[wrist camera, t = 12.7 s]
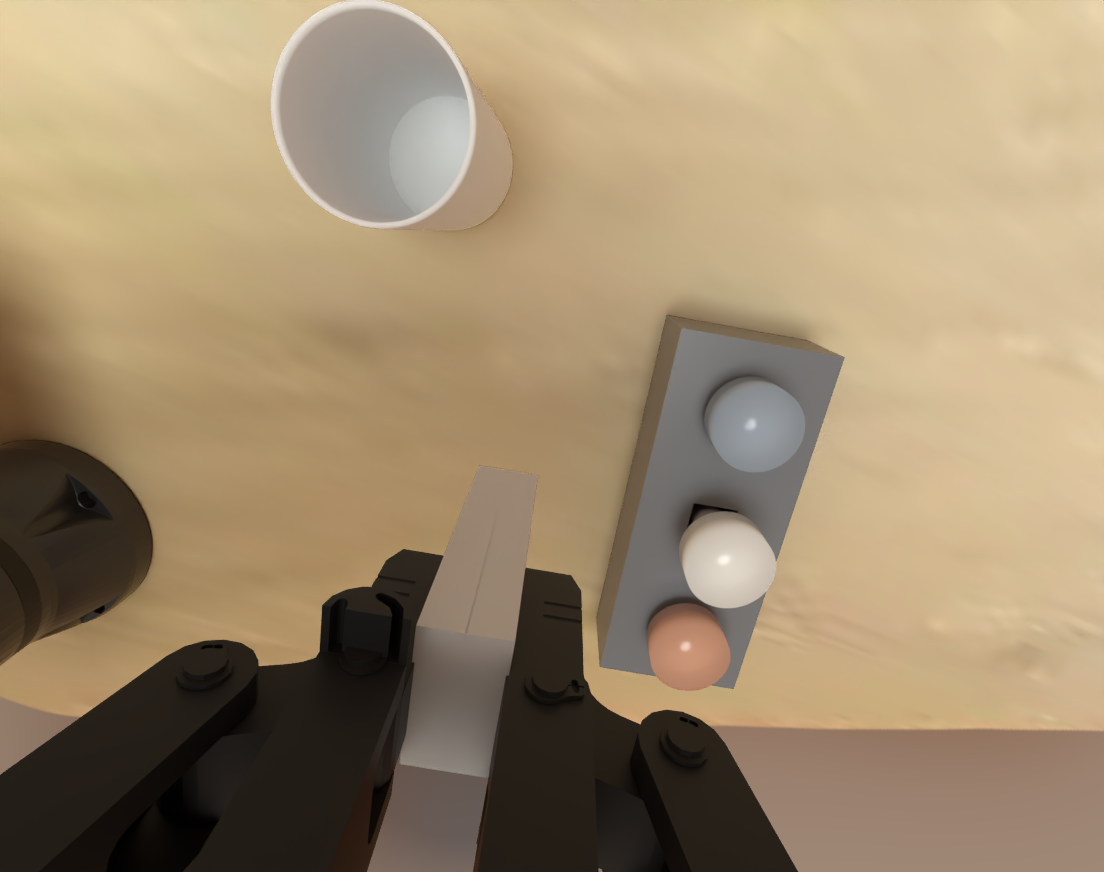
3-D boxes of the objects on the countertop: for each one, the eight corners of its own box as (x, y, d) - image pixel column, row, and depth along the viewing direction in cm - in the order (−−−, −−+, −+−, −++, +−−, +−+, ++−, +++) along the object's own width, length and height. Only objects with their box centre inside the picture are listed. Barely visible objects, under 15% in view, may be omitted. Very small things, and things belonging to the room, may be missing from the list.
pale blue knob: (681, 425, 42) (702, 464, 35) (699, 353, 40) (726, 378, 33) (753, 438, 42) (789, 479, 35) (774, 366, 41) (817, 394, 34)
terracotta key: (632, 616, 47) (642, 683, 40) (646, 559, 46) (660, 618, 39) (696, 627, 47) (718, 696, 40) (713, 570, 46) (739, 632, 39)
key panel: (596, 617, 50) (599, 666, 44) (666, 315, 42) (681, 328, 36) (715, 637, 50) (733, 688, 44) (807, 340, 42) (844, 357, 36)
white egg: (658, 540, 43) (676, 600, 36) (676, 473, 41) (697, 522, 34) (730, 552, 43) (761, 614, 36) (750, 486, 41) (787, 538, 34)
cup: (537, 145, 39) (515, 88, 23) (469, 255, 41) (409, 269, 26) (427, 62, 37) (329, -55, 22) (364, 181, 40) (235, 149, 24)
